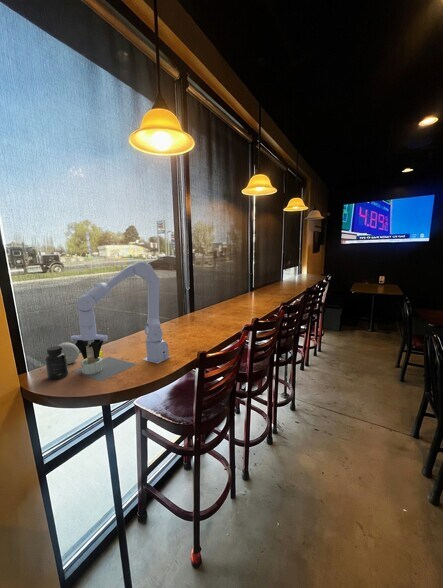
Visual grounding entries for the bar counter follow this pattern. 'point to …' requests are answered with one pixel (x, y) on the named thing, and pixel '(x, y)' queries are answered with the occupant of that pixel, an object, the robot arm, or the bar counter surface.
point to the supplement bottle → (56, 363)
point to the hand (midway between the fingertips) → (91, 357)
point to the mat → (108, 368)
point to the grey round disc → (71, 349)
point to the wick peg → (90, 354)
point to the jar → (92, 366)
